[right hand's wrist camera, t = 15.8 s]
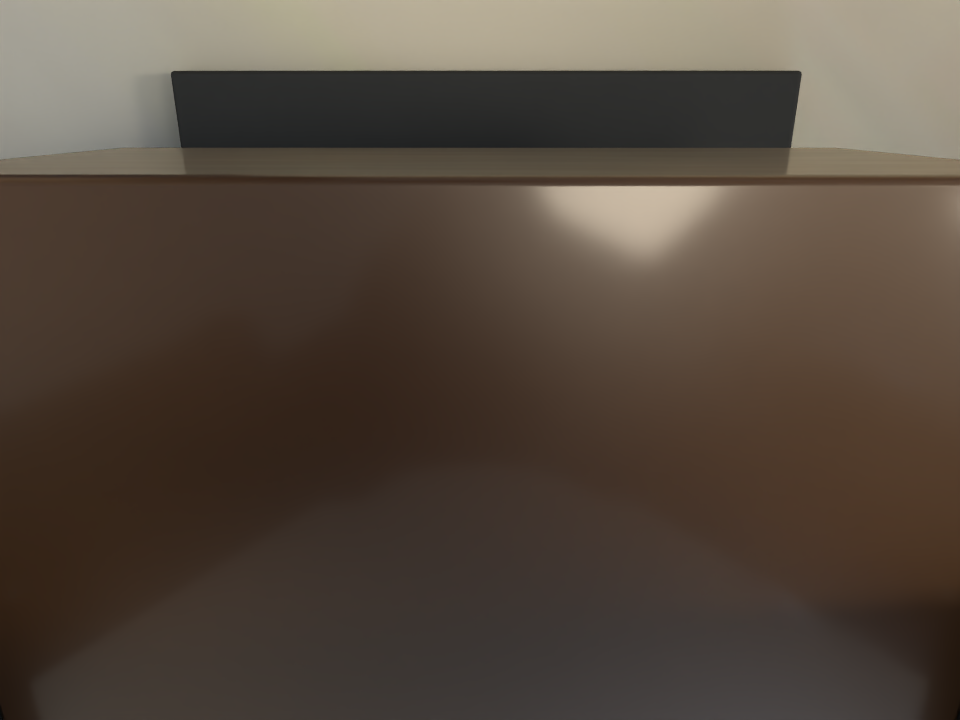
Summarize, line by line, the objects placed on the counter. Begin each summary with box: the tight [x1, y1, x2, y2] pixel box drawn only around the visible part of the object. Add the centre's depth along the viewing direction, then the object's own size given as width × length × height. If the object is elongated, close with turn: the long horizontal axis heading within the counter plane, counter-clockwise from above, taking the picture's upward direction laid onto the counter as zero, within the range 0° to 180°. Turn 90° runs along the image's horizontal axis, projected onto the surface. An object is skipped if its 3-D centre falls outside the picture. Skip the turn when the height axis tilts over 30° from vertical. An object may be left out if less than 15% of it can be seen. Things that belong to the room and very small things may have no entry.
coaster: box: [171, 71, 802, 148], centre depth 18 cm, size 14×14×1 cm
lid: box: [0, 148, 960, 720], centre depth 10 cm, size 11×11×5 cm
